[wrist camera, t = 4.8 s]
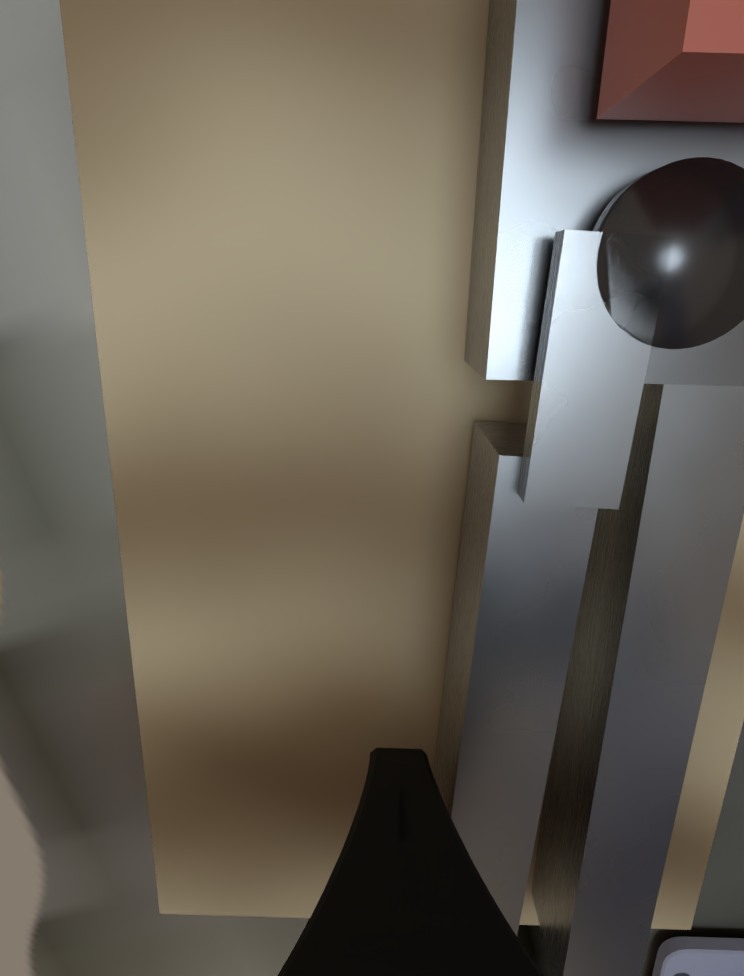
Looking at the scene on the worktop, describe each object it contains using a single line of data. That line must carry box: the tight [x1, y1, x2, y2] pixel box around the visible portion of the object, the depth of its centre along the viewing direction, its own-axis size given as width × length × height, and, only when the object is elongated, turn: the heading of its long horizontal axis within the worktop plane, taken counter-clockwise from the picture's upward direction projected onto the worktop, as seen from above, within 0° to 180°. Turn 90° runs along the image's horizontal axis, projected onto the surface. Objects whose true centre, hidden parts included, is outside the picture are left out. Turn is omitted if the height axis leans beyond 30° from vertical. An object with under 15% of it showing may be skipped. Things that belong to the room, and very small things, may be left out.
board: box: [60, 0, 744, 930], centre depth 12 cm, size 18×12×1 cm, turn 179°
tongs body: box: [464, 0, 744, 976], centre depth 10 cm, size 17×4×2 cm, turn 179°
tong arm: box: [433, 157, 744, 936], centre depth 10 cm, size 14×3×3 cm, turn 176°
